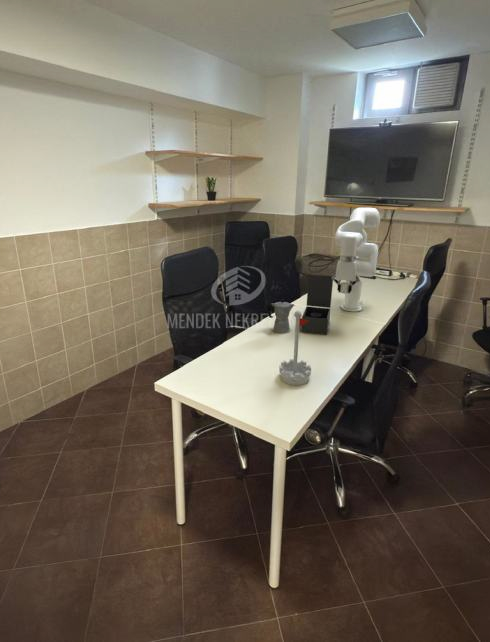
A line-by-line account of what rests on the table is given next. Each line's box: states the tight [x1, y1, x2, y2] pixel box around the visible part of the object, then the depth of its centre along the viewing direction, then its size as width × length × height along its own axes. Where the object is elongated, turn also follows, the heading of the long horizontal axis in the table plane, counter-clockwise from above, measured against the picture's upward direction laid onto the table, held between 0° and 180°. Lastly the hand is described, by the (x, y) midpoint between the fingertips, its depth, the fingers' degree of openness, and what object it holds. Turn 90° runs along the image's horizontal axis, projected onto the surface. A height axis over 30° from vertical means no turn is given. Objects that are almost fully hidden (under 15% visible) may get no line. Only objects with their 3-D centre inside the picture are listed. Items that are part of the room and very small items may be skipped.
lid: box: [306, 273, 334, 309], centre depth 206 cm, size 18×14×5 cm
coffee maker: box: [300, 305, 331, 336], centre depth 199 cm, size 18×14×9 cm
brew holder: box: [310, 312, 322, 318], centre depth 196 cm, size 6×6×9 cm
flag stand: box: [278, 310, 312, 386], centre depth 145 cm, size 13×13×30 cm
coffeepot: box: [265, 298, 296, 334], centre depth 195 cm, size 15×9×18 cm, turn 92°
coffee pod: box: [339, 281, 349, 295], centre depth 189 cm, size 4×4×5 cm
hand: (344, 292), depth 190 cm, fingers closed on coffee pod, 4 cm apart
